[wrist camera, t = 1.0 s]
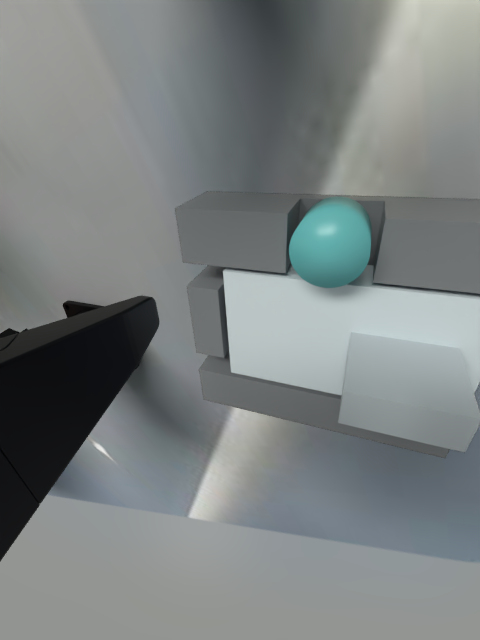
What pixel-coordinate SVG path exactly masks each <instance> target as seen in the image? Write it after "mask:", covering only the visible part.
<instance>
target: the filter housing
mask: <svg viewBox="0 0 480 640" xmlns="http://www.w3.org/2000/svg"><path fill="white" fill-rule="evenodd" d="M334 196H341V197H347V198H350V199H353V200H355V201H356V202H358V203H359V204H361V205H362V206H363V207H364V208H365V210H366V211H367V213H368V215H369V217H370V220H371V225H372V234H371V251H370V258H369V261H368V264H367V265H374V269H373V283H383V284H392V285H402V286H412V287H421V288H431V289H440V290H450V291H459V292H469V293H478V294H480V199H448V198H414V197H380V196H345V195H311V194H277V193H242V192H208V191H207V192H205V193H203V194H201V195H199V196H197V197H195V198H193V199H192V200H190V201H188V202H186V203H184V204H182V205H180V206H178V207H176V208H175V213H176V220H177V226H178V233H179V239H180V246H181V253H182V259H183V263H192V264H201V265H207V267H206V268H205V269H204V270H203V271H202V272H201V273H200V274H199V275H198V276H197V277H196V278H195V279H194V280H193V281H191V282H190V283H189V284H188V285H187V293H188V299H189V306H190V313H191V319H192V326H193V333H194V339H195V346H196V352H197V353H202V354H207V355H208V357H207V358H206V360H205V361H204V363H203V364H202V366H201V367H200V369H199V372H200V379H201V386H202V392H203V399H204V400H208V401H212V402H216V403H220V404H224V405H228V406H232V407H236V408H240V409H245V410H249V411H253V412H257V413H261V414H265V415H269V416H273V417H277V418H282V419H286V420H290V421H294V422H298V423H302V424H306V425H310V426H314V427H318V428H323V429H327V430H331V431H335V432H339V433H343V434H347V435H351V436H355V437H360V438H364V439H368V440H372V441H376V442H380V443H384V444H388V445H392V446H396V447H401V448H405V449H409V450H413V451H417V452H421V453H425V454H429V455H433V456H438V457H442V458H446V456H447V454H448V452H449V450H450V449H447V448H443V447H439V446H434V445H430V444H426V443H422V442H417V441H413V440H409V439H405V438H400V437H396V436H392V435H388V434H383V433H379V432H375V431H371V430H366V429H362V428H358V427H354V426H349V425H345V424H341V423H338V419H339V411H340V403H341V396H342V395H337V394H332V393H327V392H322V391H318V390H313V389H308V388H303V387H299V386H294V385H289V384H284V383H280V382H275V381H270V380H265V379H260V378H256V377H251V376H246V375H241V374H237V373H232V372H231V366H230V353H229V341H228V328H227V316H226V303H225V291H224V279H223V271H224V270H225V269H226V267H230V268H240V269H249V270H259V271H268V272H278V273H286V271H287V270H288V268H289V266H290V264H291V261H290V256H289V245H290V240H291V238H292V235H293V233H294V232H295V230H296V228H297V227H298V225H299V224H300V222H301V221H302V219H303V218H304V216H305V215H306V213H307V212H308V210H309V209H310V208H311V207H312V206H313V205H315V204H316V203H317V202H319V201H321V200H323V199H325V198H329V197H334Z"/></svg>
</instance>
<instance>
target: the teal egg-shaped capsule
mask: <svg viewBox="0 0 480 640" xmlns="http://www.w3.org/2000/svg"><path fill="white" fill-rule="evenodd" d="M371 234H372V225H371V220H370V217H369V215H368V213H367V211H366V210H365V208H364V207H363V206H362V205H361V204H359V203H358V202H356V201H355V200H353V199H350V198H347V197H341V196H334V197H329V198H325V199H323V200H321V201H319V202H317V203H316V204H315V205H313V206H312V207H311V208H310V209H309V210H308V212H307V213H306V215H305V216H304V218H303V219H302V221H301V222H300V224H299V225H298V227H297V228H296V230H295V232H294V233H293V235H292V238H291V240H290V245H289V256H290V261H291V264H292V266H293V268H294V270H295V271H296V272H297V274H298V275H299V276H300V277H301V278H302V279H304V280H305V281H306V282H308V283H310V284H312V285H315V286H318V287H323V288H336V287H340V286H344V285H346V284H349V283H350V282H352V281H354V280H355V279H356V278H358V277H359V276H360V275H361V273H362V272H363V271H364V269H365V268H366V266H367V264H368V261H369V258H370V251H371Z"/></svg>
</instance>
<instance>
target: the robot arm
mask: <svg viewBox="0 0 480 640" xmlns="http://www.w3.org/2000/svg"><path fill="white" fill-rule="evenodd" d="M63 308H64V310H65V313H66V315H67V318H66V319H62V320H59V321H56V322H53V323H49V324H46V325H43V326H40V327H36V328H33V329H30V330H28V329H27V328H26V329H25V330H23V331H22V332H20V333H19V332H18V331H14V330H12V329H10V328H9V329H7V330H5V331H4V332H2V333H1V334H0V561H1V560H2V558H3V557H4V555H5V554H6V553H7V551H8V550H9V548H10V547H11V545H12V544H13V543H14V541H15V540H16V538H17V537H18V535H19V534H20V533H21V531H22V529H23V528H24V527H25V525H26V524H27V523H28V521H29V520H30V518H31V517H32V515H33V514H34V513H35V511H36V510H37V508H38V507H39V505H40V504H39V503H41V502H42V501H43V499H44V498H45V496H46V495H47V494H48V492H49V491H50V489H51V488H52V487H53V485H54V484H55V482H56V481H57V479H58V478H59V477H60V475H61V474H62V472H63V471H64V470H65V468H66V467H67V465H68V464H69V462H70V461H71V460H72V458H73V457H74V455H75V454H76V452H77V451H78V450H79V448H80V447H81V445H82V444H83V442H84V441H85V440H86V438H87V437H88V435H89V434H90V432H91V431H92V430H93V428H94V427H95V425H96V424H97V423H98V421H99V420H100V418H101V417H102V415H103V414H104V413H105V411H106V410H107V408H108V407H109V405H110V404H111V403H112V401H113V400H114V398H115V397H116V395H117V394H118V393H119V391H120V390H121V388H122V387H123V385H124V384H125V383H126V381H127V380H128V378H129V377H130V376H131V374H132V373H133V371H134V370H135V369H136V368H137V367H138V366H139V362H140V360H141V358H142V356H143V354H144V353H145V351H146V349H147V347H148V345H149V344H150V342H151V340H152V338H153V336H154V335H155V333H156V331H157V329H158V327H159V316H158V311H157V307H156V302H155V300H154V298H152V297H148V296H137V297H134V298H131V299H128V300H124V301H121V302H118V303H114V304H111V305H108V306H105V307H104V306H98V305H92V304H86V303H80V302H74V301H66V302H65V303H63Z"/></svg>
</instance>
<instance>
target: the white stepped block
mask: <svg viewBox="0 0 480 640" xmlns="http://www.w3.org/2000/svg"><path fill="white" fill-rule="evenodd" d="M373 269H374V265H367V266H366V268H365V269H364V271H363V272H362V273H361V275H360V276H359V277H358V278H356V279H355V280H354V281H352V282H350V283H349V284H346V285H344V286H340V287H336V288H323V287H318V286H315V285H312V284H310V283H308V282H306V281H305V280H304V279H302V278H301V277H300V276H299V275H298V274H297V272H296V271H295V270H294V268H293V266H292V264H290V266H289V268H288V270H287V271H286V273H278V272H268V271H259V270H249V269H240V268H230V267H226V269H225V270H224V271H223V279H224V291H225V303H226V316H227V328H228V341H229V353H230V366H231V372H232V373H237V374H241V375H246V376H251V377H256V378H260V379H265V380H270V381H275V382H280V383H284V384H289V385H294V386H299V387H303V388H308V389H313V390H318V391H322V392H327V393H332V394H337V395H342V396H341V403H340V411H339V419H338V423H341V424H345V425H349V426H354V427H358V428H362V429H366V430H371V431H375V432H379V433H383V434H388V435H392V436H396V437H400V438H405V439H409V440H413V441H417V442H422V443H426V444H430V445H434V446H439V447H443V448H447V449H451V450H456V451H460V452H464V453H465V451H466V449H467V448H468V446H469V444H470V442H471V440H472V438H473V436H474V435H475V433H476V431H477V429H478V427H479V425H480V411H479V407H478V404H477V401H476V398H475V395H474V393H475V391H476V389H477V387H478V384H479V382H480V294H478V293H469V292H459V291H450V290H440V289H431V288H421V287H412V286H402V285H392V284H383V283H373Z"/></svg>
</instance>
